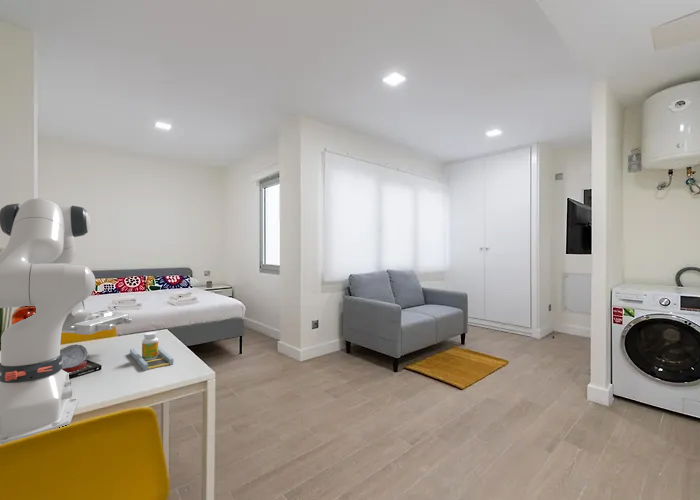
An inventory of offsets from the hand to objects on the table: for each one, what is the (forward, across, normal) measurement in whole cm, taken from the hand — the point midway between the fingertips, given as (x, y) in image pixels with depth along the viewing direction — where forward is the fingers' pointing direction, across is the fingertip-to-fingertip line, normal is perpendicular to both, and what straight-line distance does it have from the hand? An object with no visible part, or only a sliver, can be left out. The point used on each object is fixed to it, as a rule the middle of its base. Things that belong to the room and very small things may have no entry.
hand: (121, 324), depth 129 cm
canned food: (-5, -17, +13) cm, 22 cm away
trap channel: (+13, -1, +13) cm, 18 cm away
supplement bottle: (+13, 0, +13) cm, 18 cm away
